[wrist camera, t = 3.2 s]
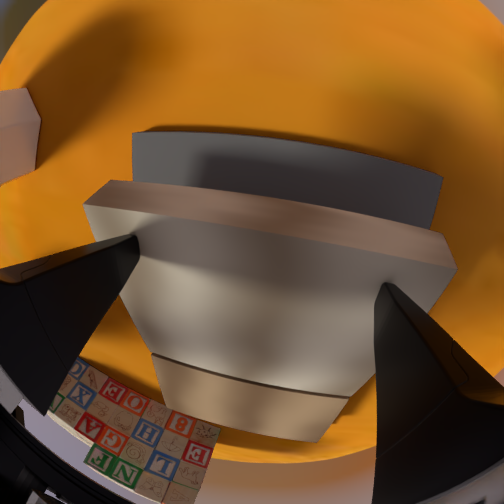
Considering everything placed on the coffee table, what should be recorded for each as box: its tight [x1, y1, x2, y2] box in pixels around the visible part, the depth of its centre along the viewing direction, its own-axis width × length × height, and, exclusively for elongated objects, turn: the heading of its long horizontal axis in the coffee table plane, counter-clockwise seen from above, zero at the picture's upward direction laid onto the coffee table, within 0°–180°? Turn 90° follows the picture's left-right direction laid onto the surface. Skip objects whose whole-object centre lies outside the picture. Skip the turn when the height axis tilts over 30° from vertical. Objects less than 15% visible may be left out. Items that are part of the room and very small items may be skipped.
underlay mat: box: [132, 131, 443, 397], centre depth 17 cm, size 16×24×1 cm, turn 175°
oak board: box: [151, 353, 349, 443], centre depth 19 cm, size 14×8×2 cm, turn 85°
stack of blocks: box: [47, 357, 221, 504], centre depth 24 cm, size 21×6×12 cm, turn 73°
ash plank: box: [83, 180, 458, 396], centre depth 13 cm, size 14×12×2 cm
